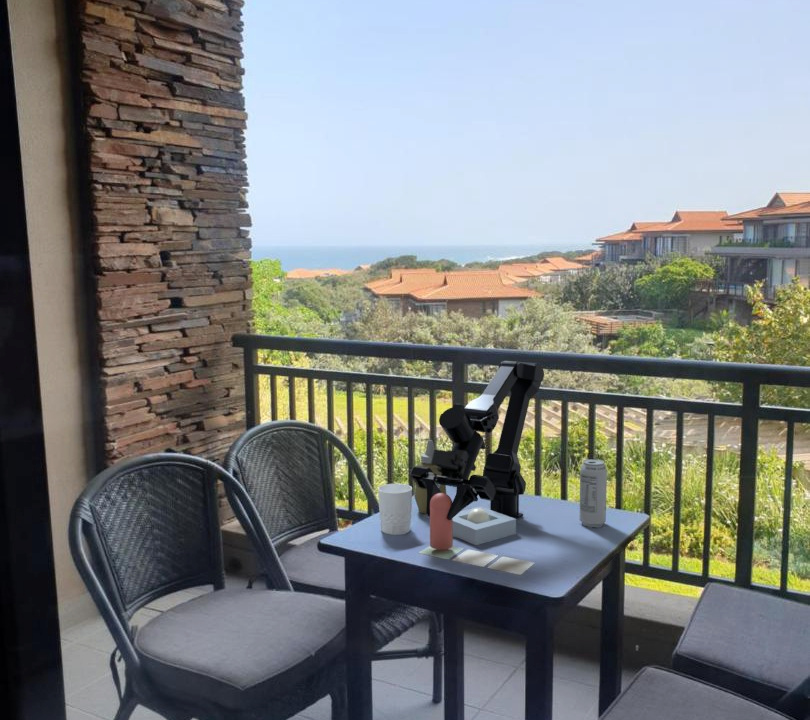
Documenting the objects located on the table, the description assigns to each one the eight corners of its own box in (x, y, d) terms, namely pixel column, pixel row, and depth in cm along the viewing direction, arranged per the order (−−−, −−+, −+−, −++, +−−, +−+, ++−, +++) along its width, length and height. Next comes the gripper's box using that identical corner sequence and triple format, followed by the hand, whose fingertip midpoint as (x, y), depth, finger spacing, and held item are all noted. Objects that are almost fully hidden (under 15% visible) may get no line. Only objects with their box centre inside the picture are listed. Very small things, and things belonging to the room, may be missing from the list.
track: (539, 565, 162) (539, 562, 162) (523, 579, 155) (523, 576, 155) (433, 543, 175) (433, 541, 175) (413, 555, 168) (413, 553, 168)
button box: (480, 522, 189) (480, 506, 188) (516, 536, 179) (516, 518, 179) (441, 533, 182) (441, 516, 181) (475, 547, 172) (475, 529, 172)
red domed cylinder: (450, 540, 172) (450, 489, 170) (454, 548, 167) (454, 496, 165) (428, 542, 171) (428, 490, 170) (432, 550, 166) (431, 497, 165)
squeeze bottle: (407, 510, 198) (407, 440, 196) (432, 504, 203) (432, 435, 201) (428, 518, 192) (427, 445, 190) (453, 512, 197) (453, 440, 195)
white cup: (409, 537, 179) (408, 493, 178) (375, 534, 181) (374, 492, 180) (415, 525, 187) (415, 484, 186) (383, 523, 189) (382, 482, 188)
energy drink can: (611, 525, 186) (612, 463, 184) (590, 529, 183) (591, 466, 181) (594, 518, 191) (595, 457, 189) (574, 522, 188) (575, 460, 187)
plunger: (479, 527, 184) (479, 504, 183) (493, 532, 180) (494, 509, 179) (462, 531, 181) (462, 508, 180) (477, 537, 177) (477, 513, 176)
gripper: (413, 429, 174) (385, 490, 167) (489, 439, 164) (463, 505, 156) (432, 457, 182) (406, 516, 174) (506, 468, 172) (482, 532, 164)
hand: (437, 517), depth 167 cm, fingers closed on red domed cylinder, 5 cm apart
